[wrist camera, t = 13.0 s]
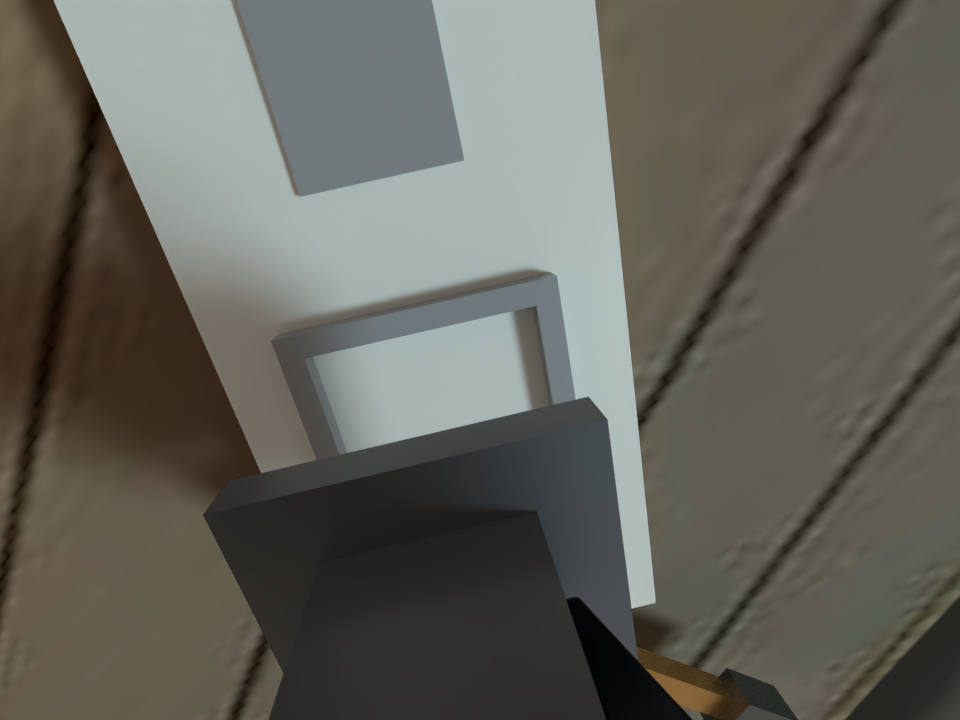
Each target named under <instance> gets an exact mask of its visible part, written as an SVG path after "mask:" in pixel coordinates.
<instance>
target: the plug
mask: <svg viewBox="0 0 960 720" xmlns="http://www.w3.org/2000/svg"><path fill="white" fill-rule="evenodd" d="M203 516H204V518H205V520H206V522H207V524H208V525H209V527H210V529H211V531H212V533H213V535H214V537H215V539H216V541H217V543H218V545H219V547H220V549H221V551H222V553H223V555H224V557H225V559H226V561H227V563H228V565H229V567H230V569H231V571H232V573H233V575H234V577H235V579H236V580H237V582H238V584H239V586H240V588H241V590H242V592H243V594H244V596H245V598H246V600H247V602H248V604H249V606H250V608H251V610H252V612H253V614H254V616H255V618H256V620H257V622H258V624H259V626H260V628H261V630H262V632H263V634H264V635H265V637H266V639H267V641H268V643H269V645H270V647H271V649H272V651H273V653H274V655H275V657H276V659H277V661H278V663H279V665H280V667H281V669H282V671H283V673H284V674H283V677H282V680H281V683H280V686H279V690H278V693H277V696H276V699H275V702H274V705H273V708H272V711H271V714H270V717H269V720H606V717H605V714H604V711H603V708H602V705H601V702H600V699H599V696H598V693H597V690H596V687H595V684H594V681H593V678H592V675H591V672H590V669H589V666H588V663H587V660H586V657H585V654H584V652H583V649H582V646H581V643H580V640H579V637H578V634H577V631H576V628H575V625H574V622H573V619H572V616H571V613H570V610H569V607H568V604H567V601H566V599H567V598H571V597H579V598H580V599H581V600H582V601H583V602H584V603H585V604H586V605H587V606H588V607H589V608H590V609H591V610H592V612H593V613H594V614H595V615H596V616H597V617H598V618H599V619H600V620H601V621H602V622H603V623H604V625H605V626H606V627H607V628H608V629H609V630H610V631H611V632H612V633H613V634H614V635H615V636H616V637H617V639H618V640H619V641H620V642H621V643H622V644H623V645H624V646H625V647H626V648H627V649H628V650H629V652H630V653H631V654H632V655H633V656H634V657H635V658H636V659H637V660H638V655H637V647H636V639H635V631H634V623H633V615H632V608H631V600H630V592H629V584H628V576H627V568H626V560H625V553H624V545H623V537H622V529H621V521H620V513H619V505H618V497H617V490H616V482H615V474H614V466H613V458H612V450H611V442H610V435H609V427H608V420H607V418H606V417H605V416H604V415H603V413H602V412H601V411H600V410H599V409H598V407H597V406H596V405H595V404H594V402H593V401H592V400H591V399H590V397H585V398H580V399H576V400H572V401H567V402H563V403H559V404H555V405H550V406H546V407H542V408H538V409H533V410H529V411H525V412H520V413H516V414H512V415H508V416H503V417H499V418H495V419H490V420H486V421H482V422H478V423H473V424H469V425H465V426H461V427H456V428H452V429H448V430H443V431H439V432H435V433H431V434H426V435H422V436H418V437H413V438H409V439H405V440H401V441H396V442H392V443H388V444H384V445H379V446H375V447H371V448H366V449H362V450H358V451H354V452H349V453H345V454H341V455H337V456H332V457H328V458H324V459H319V460H315V461H311V462H307V463H302V464H298V465H294V466H289V467H285V468H281V469H277V470H272V471H268V472H264V473H260V474H255V475H251V476H247V477H242V478H238V479H234V480H230V481H228V483H227V484H226V485H225V487H224V488H223V489H222V491H221V492H220V493H219V494H218V496H217V497H216V498H215V500H214V501H213V502H212V504H211V505H210V506H209V508H208V509H207V510H206V512H205V513H204V514H203Z"/></svg>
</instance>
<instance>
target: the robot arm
mask: <svg viewBox="0 0 960 720" xmlns="http://www.w3.org/2000/svg"><path fill="white" fill-rule="evenodd" d="M566 601H567V604H568V607H569V610H570V613H571V616H572V619H573V622H574V625H575V628H576V631H577V634H578V637H579V640H580V643H581V646H582V649H583V652H584V654H585V657H586V660H587V663H588V666H589V669H590V672H591V675H592V678H593V681H594V684H595V687H596V690H597V693H598V696H599V699H600V702H601V705H602V708H603V711H604V714H605V717H606V720H692V718H691V717H690V716H689V715H688V714H687V713H686V712H685V711H684V710H683V709H682V708H681V707H680V706H679V704H678V703H677V702H676V701H675V700H674V699H673V698H672V697H671V696H670V695H669V694H668V693H667V691H666V690H665V689H664V688H663V687H662V686H661V685H660V684H659V683H658V682H657V681H656V680H655V679H654V677H653V676H652V675H651V674H650V673H649V672H648V671H647V670H646V669H645V668H644V667H643V666H642V664H641V663H640V662H639V661H638V660H637V659H636V658H635V657H634V656H633V655H632V654H631V653H630V652H629V650H628V649H627V648H626V647H625V646H624V645H623V644H622V643H621V642H620V641H619V640H618V639H617V637H616V636H615V635H614V634H613V633H612V632H611V631H610V630H609V629H608V628H607V627H606V626H605V625H604V623H603V622H602V621H601V620H600V619H599V618H598V617H597V616H596V615H595V614H594V613H593V612H592V610H591V609H590V608H589V607H588V606H587V605H586V604H585V603H584V602H583V601H582V600H581V599H580V598H579V597H571V598H567V599H566Z"/></svg>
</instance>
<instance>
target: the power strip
mask: <svg viewBox="0 0 960 720" xmlns="http://www.w3.org/2000/svg"><path fill="white" fill-rule="evenodd" d="M54 3H55V5H56V7H57V9H58V12H59V14H60V16H61V18H62V21H63V23H64V25H65V28H66V30H67V32H68V34H69V37H70V39H71V41H72V43H73V46H74V48H75V50H76V53H77V55H78V57H79V59H80V62H81V64H82V66H83V69H84V71H85V73H86V75H87V78H88V80H89V82H90V84H91V87H92V89H93V91H94V94H95V96H96V98H97V100H98V103H99V105H100V107H101V110H102V112H103V114H104V116H105V119H106V121H107V123H108V125H109V128H110V130H111V132H112V135H113V137H114V139H115V141H116V144H117V146H118V148H119V151H120V153H121V155H122V157H123V160H124V162H125V164H126V166H127V169H128V171H129V173H130V176H131V178H132V180H133V182H134V185H135V187H136V189H137V191H138V194H139V196H140V198H141V201H142V203H143V205H144V207H145V210H146V212H147V214H148V217H149V219H150V221H151V223H152V226H153V228H154V230H155V232H156V235H157V237H158V239H159V242H160V244H161V246H162V248H163V251H164V253H165V255H166V258H167V260H168V262H169V264H170V267H171V269H172V271H173V273H174V276H175V278H176V280H177V283H178V285H179V287H180V289H181V292H182V294H183V296H184V299H185V301H186V303H187V305H188V308H189V310H190V312H191V314H192V317H193V319H194V321H195V324H196V326H197V328H198V330H199V333H200V335H201V337H202V339H203V342H204V344H205V346H206V349H207V351H208V353H209V355H210V358H211V360H212V362H213V365H214V367H215V369H216V371H217V374H218V376H219V378H220V380H221V383H222V385H223V387H224V390H225V392H226V394H227V396H228V399H229V401H230V403H231V406H232V408H233V410H234V412H235V415H236V417H237V419H238V421H239V424H240V426H241V428H242V431H243V433H244V435H245V437H246V440H247V442H248V444H249V447H250V449H251V451H252V453H253V456H254V458H255V460H256V462H257V465H258V467H259V469H260V472H261V473H264V472H268V471H272V470H277V469H281V468H285V467H289V466H294V465H298V464H302V463H307V462H311V461H315V460H319V459H324V458H328V457H332V456H337V455H341V454H345V453H349V452H354V451H358V450H362V449H366V448H371V447H375V446H379V445H384V444H388V443H392V442H396V441H401V440H405V439H409V438H413V437H418V436H422V435H426V434H431V433H435V432H439V431H443V430H448V429H452V428H456V427H461V426H465V425H469V424H473V423H478V422H482V421H486V420H490V419H495V418H499V417H503V416H508V415H512V414H516V413H520V412H525V411H529V410H533V409H538V408H542V407H546V406H550V405H555V404H559V403H563V402H567V401H572V400H576V399H580V398H585V397H590V399H591V400H592V401H593V402H594V404H595V405H596V406H597V407H598V409H599V410H600V411H601V412H602V413H603V415H604V416H605V417H606V418H607V420H608V427H609V435H610V442H611V450H612V458H613V466H614V474H615V482H616V490H617V497H618V505H619V513H620V521H621V529H622V537H623V545H624V553H625V560H626V568H627V576H628V584H629V592H630V600H631V608H636V607H640V606H644V605H648V604H652V603H656V600H655V590H654V581H653V571H652V561H651V551H650V541H649V531H648V521H647V511H646V501H645V491H644V482H643V472H642V462H641V452H640V442H639V432H638V422H637V412H636V402H635V393H634V383H633V373H632V363H631V353H630V343H629V333H628V323H627V313H626V303H625V294H624V284H623V274H622V264H621V254H620V244H619V234H618V224H617V214H616V205H615V195H614V185H613V175H612V165H611V155H610V145H609V135H608V125H607V115H606V106H605V96H604V86H603V76H602V66H601V56H600V46H599V36H598V26H597V17H596V7H595V0H54Z"/></svg>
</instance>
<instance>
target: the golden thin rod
mask: <svg viewBox="0 0 960 720" xmlns="http://www.w3.org/2000/svg"><path fill="white" fill-rule="evenodd" d="M636 647H637V646H636ZM637 655H638V661H639V662H640V663H641V664H642V666H643V667H644V668H645V669H646V670H647V671H648V672H649V673H650V674H651V675H652V676H653V677H654V679H655V680H656V681H657V682H658V683H659V684H660V685H661V686H662V687H663V688H664V689H665V690H666V691H667V693H668V694H669V695H670V696H671V697H672V698H673V699H674V700H675V701H676V702H677V703H678V704H679V705H681V706H684V707H686V708H689V709H692V710H695V711H698V712H700V713H701V715H702V717H703V719H704V720H798V719H797V718H796V716H795V715H794V714H793V712H792V711H791V709H790V708H789V707H788V705H787V704H786V702H785V701H784V699H783V698H782V697H781V695H780V694H779V692H778V691H777V690H776V688H775V687H774V686H773V685H770V684H768V683H765V682H762V681H760V680H757V679H754V678H752V677H749V676H747V675H744V674H741V673H739V672H736V671H733V670H731V669H728V668H726V670H725V671H724V672H723V673H722V674H721V675H720V676H719V677H718V676H715V675H712V674H710V673H707V672H704V671H702V670H699V669H696V668H693V667H691V666H688V665H685V664H683V663H680V662H677V661H675V660H672V659H669V658H667V657H664V656H661V655H658V654H656V653H653V652H650V651H648V650H645V649H642V648H640V647H637Z"/></svg>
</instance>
